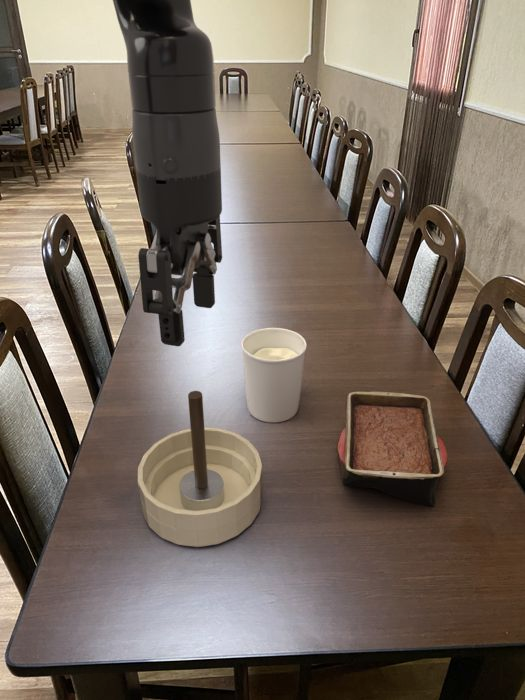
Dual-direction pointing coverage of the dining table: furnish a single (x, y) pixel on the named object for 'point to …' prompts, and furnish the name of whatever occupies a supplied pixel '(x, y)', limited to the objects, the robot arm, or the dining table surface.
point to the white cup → (273, 373)
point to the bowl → (177, 460)
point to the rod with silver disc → (200, 466)
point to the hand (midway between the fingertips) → (189, 323)
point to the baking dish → (392, 445)
